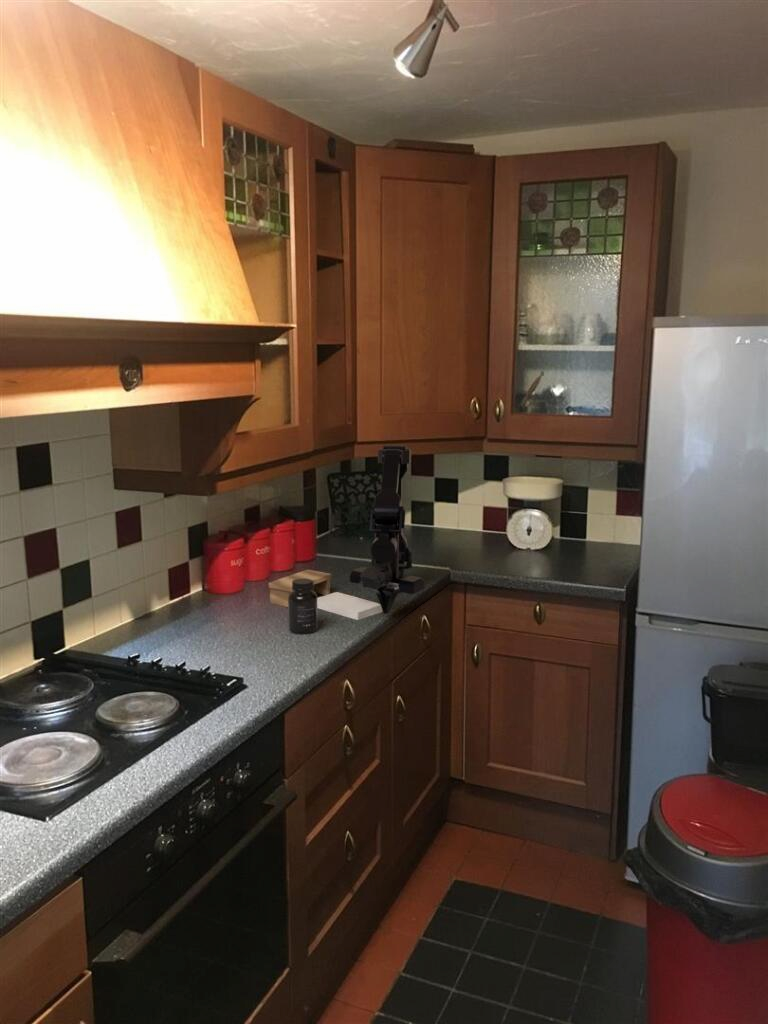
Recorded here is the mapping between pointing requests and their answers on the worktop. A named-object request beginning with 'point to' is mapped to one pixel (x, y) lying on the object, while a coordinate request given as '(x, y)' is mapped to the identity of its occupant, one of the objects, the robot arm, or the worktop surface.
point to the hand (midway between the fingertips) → (386, 613)
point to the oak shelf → (284, 585)
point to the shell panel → (348, 605)
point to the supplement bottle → (302, 607)
